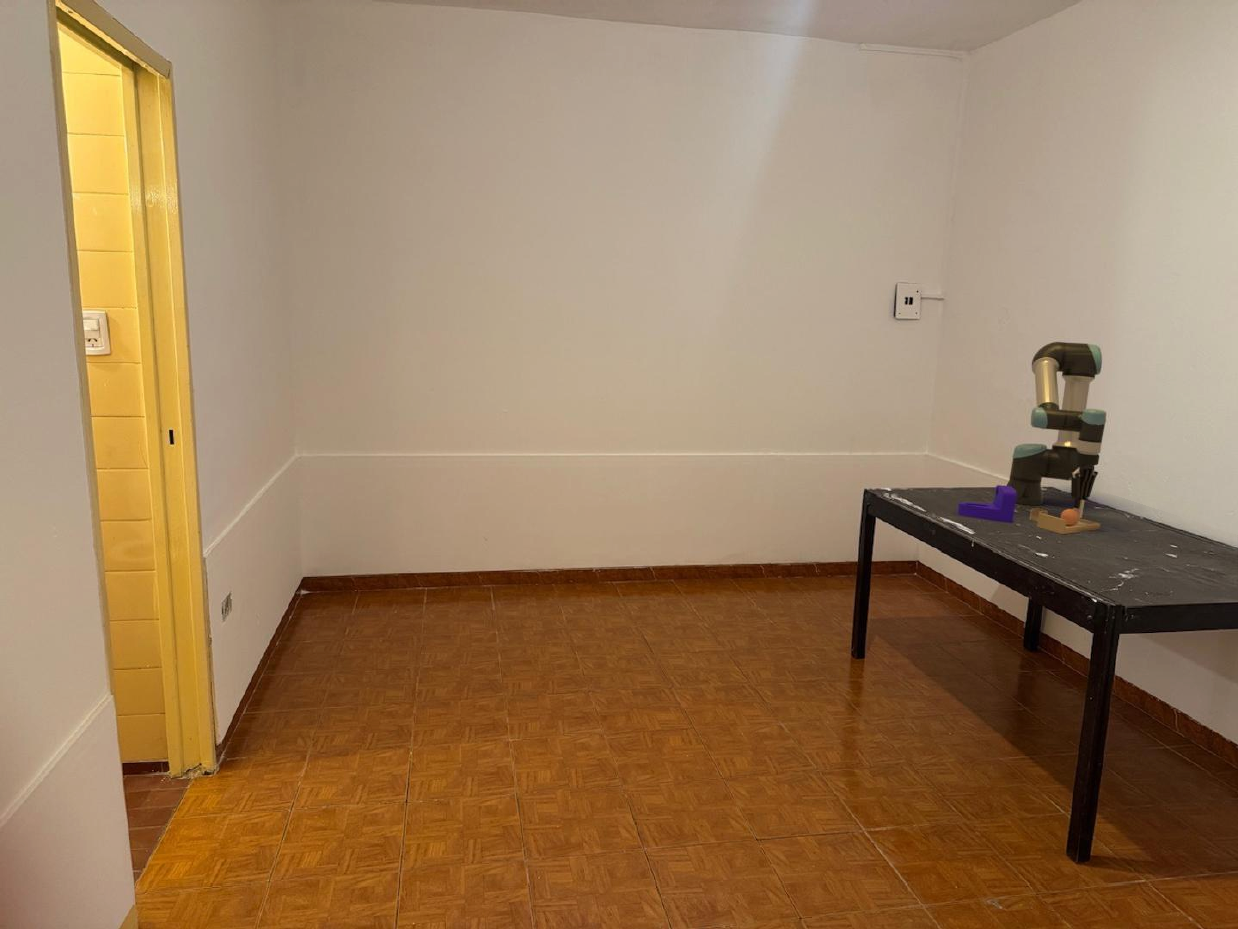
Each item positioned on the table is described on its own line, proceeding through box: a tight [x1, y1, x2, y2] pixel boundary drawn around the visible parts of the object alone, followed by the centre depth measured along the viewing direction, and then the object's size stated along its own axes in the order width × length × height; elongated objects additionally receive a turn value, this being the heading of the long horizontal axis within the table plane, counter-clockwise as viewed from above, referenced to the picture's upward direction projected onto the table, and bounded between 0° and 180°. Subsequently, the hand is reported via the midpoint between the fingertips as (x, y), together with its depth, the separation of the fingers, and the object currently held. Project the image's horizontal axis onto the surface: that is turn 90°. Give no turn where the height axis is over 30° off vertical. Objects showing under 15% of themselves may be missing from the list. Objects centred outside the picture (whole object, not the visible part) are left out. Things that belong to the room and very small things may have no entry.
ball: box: [1060, 508, 1080, 526], centre depth 310 cm, size 6×6×6 cm
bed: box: [1036, 513, 1101, 535], centre depth 310 cm, size 22×10×5 cm, turn 119°
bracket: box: [957, 484, 1017, 524], centre depth 319 cm, size 18×11×12 cm, turn 80°
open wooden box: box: [1029, 507, 1049, 523], centre depth 319 cm, size 4×4×4 cm
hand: (1076, 516), depth 312 cm, fingers closed
